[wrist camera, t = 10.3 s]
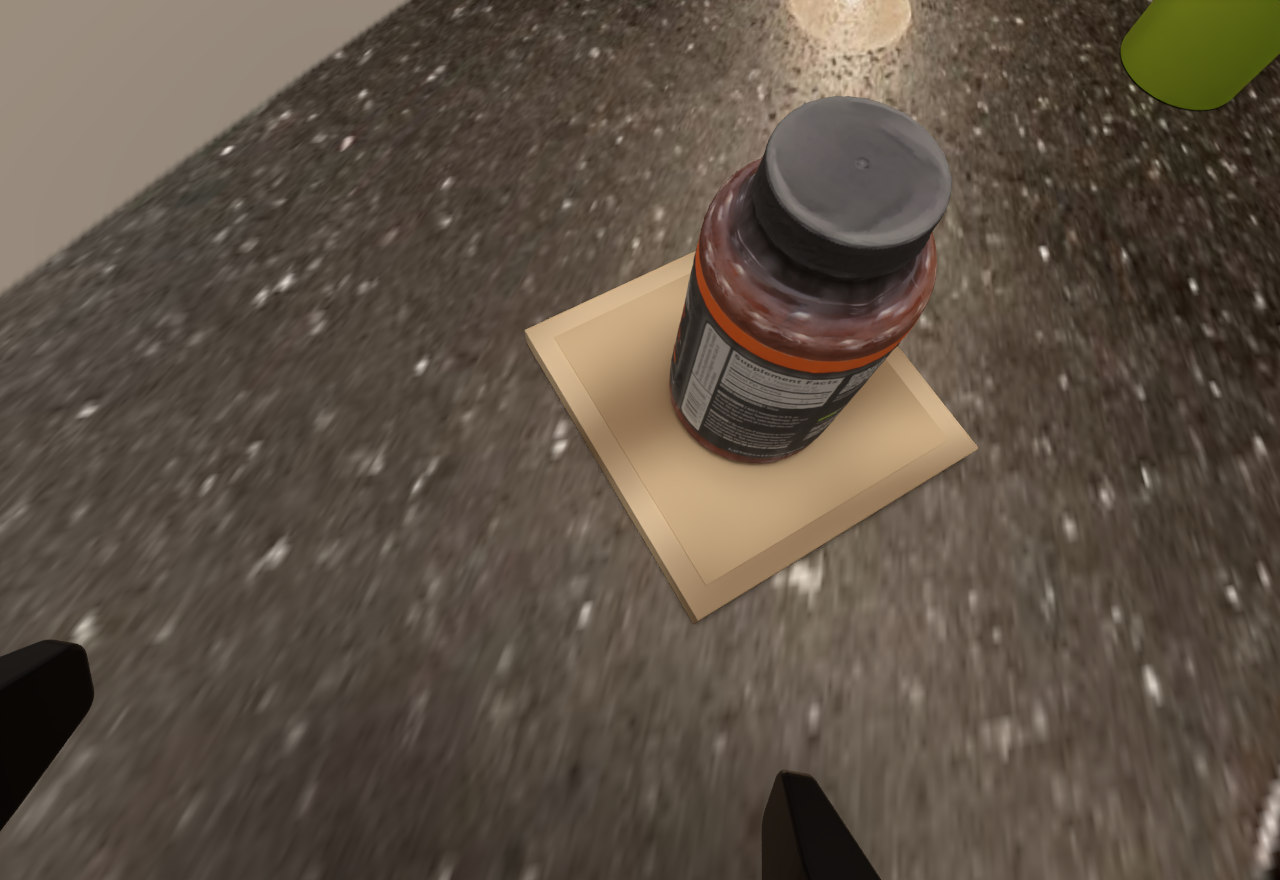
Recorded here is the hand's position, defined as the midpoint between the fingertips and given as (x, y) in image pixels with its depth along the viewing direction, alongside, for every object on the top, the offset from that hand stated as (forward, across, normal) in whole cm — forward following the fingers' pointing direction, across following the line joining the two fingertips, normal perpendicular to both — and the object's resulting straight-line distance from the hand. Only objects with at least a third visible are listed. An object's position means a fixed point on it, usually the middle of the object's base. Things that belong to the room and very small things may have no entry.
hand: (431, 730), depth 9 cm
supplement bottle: (+17, -6, +1) cm, 18 cm away
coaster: (+18, -6, +1) cm, 19 cm away
